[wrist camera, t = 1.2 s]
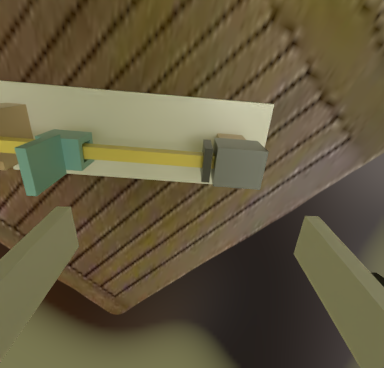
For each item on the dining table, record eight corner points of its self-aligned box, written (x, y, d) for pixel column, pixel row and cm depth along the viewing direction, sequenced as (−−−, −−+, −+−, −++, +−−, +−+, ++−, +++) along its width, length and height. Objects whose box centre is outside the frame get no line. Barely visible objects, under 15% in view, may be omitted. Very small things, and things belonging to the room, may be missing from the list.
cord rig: (-4, 79, 34) (-100, 80, 23) (271, 103, 35) (307, 115, 24) (18, 166, 40) (-48, 201, 29) (253, 184, 41) (276, 223, 30)
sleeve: (53, 125, 30) (-8, 145, 21) (91, 128, 30) (47, 150, 21) (59, 161, 32) (6, 194, 23) (95, 163, 32) (56, 197, 23)
